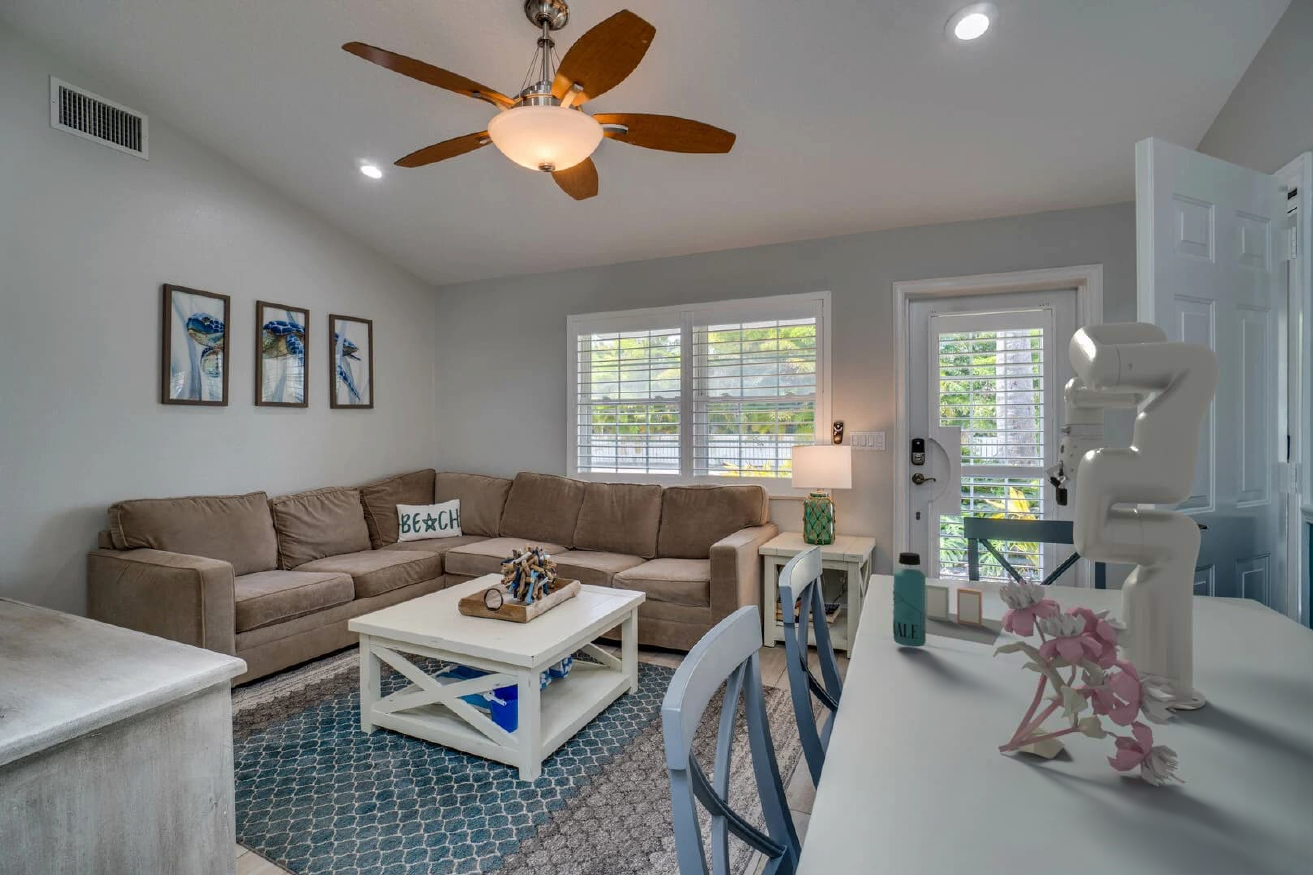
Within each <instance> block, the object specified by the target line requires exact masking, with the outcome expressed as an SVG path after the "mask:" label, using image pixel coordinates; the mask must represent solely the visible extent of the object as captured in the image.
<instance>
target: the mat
mask: <svg viewBox="0 0 1313 875" xmlns="http://www.w3.org/2000/svg"><path fill="white" fill-rule="evenodd" d="M1003 629H1004V628H1003V623H1002V620H997V619H990V618H985V617H982V626H981V627H979V626H972V625H966V624H960V623H957V613H952V612H949V621H941V620H935V619H929V618H925V631H926V635H927V634H928V635H931V636H932V635H933V636H937V637H944V638H950V639H955V640H961V641H968V642H974V643H978V644H984V645H990V646H994V644H995V643H996V640H997V639H998V637H999V635H1000V633H1001V632H1002V630H1003Z"/></svg>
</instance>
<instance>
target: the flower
mask: <svg viewBox="0 0 1313 875" xmlns="http://www.w3.org/2000/svg"><path fill="white" fill-rule="evenodd" d="M1011 575H1012V574H1011V573H1009V572H1007V577H1008V579H1009V582H1008V584H1007V585H1006V584H1004V585H1003V586H1001V585H1000V588H999V593H998V594H999V596H1000V599H1001V600H1002V602H1004V603H1006V605H1007V606H1008V608H1009V610H1007V612H1006V613H1005V614H1004V615H1003V616H1002V618H1001V621H1002V623H1003V628H1002V629H1004V631H1005V632H1006V633H1010V634H1013V632H1014V633H1015V635H1018V636H1021V637H1024V638H1027V637H1028V638H1029V637H1034V624H1035V627H1036V629H1037V631H1038V634H1039V636H1040V639H1041V641H1042V644H1041V645H1040V647H1039V649H1038V648H1036V647H1034V646H1032V645H1030V644H1028V643H1026V642H1025V641H1023V640H1022V641H1020V640H1016V641H1014V642H1011V643H1008V644H1005V645H1002V646H999V647H996V649H995V651H994V653H993V656H992V657H993V658H995V657H996V656H998V654H999V653H1001V654H1012V653H1013V654H1014V653H1017V652H1020V651H1022V652H1024V654H1026V655H1027V656H1028V657H1029V658H1030V659H1031V660H1032V661H1026V662H1025V663H1024V665H1023V666H1022V667H1021V669H1022V670H1024V669H1026V668H1027V669H1029V670H1031V671H1032V672H1036V673H1041V675H1040V678H1039V682H1038V684H1037V689H1036V692H1035V695H1034V698H1033V700H1032V702H1031V705H1030V707H1029V708H1028V710H1027V711H1026V714H1024V717H1023V718H1022V720H1021V722H1020V723H1019V725H1018V726H1017V727H1016V729H1015V730H1014V731H1013V732H1012V733H1011V734H1010V736H1009V743H1007V744H1004V745H1000V746H997V748H998V751H999V752H1000V753H1004V752H1007V753H1009V752H1013V751H1021V752H1026V753H1032V754H1035V755H1038V756H1039V757H1043V758H1045V759H1049V760H1051V759H1052V758H1055V757H1056V756H1057V755H1058V754H1059V753H1060V752H1061V750H1063V748H1064V747H1065V745H1066V744H1065V743H1064V742H1063V740H1062V739H1061V738H1060V737H1061V736H1064V735H1069V734H1072V733H1081V734H1083V735H1084V736H1086V737H1088V738H1092V739H1093V738H1094V739H1098V740H1103V739H1105V738H1106V737H1108V736H1111V737H1114V738H1115V742H1114V745H1115V747H1116V748H1117V750H1116V752H1115V758H1113V757H1110V756H1108V755H1106V758H1107V761H1108V764H1109V766H1110V767H1112V768H1113V769H1115V770H1116V771H1118V772H1127V771H1128V772H1129V771H1132V770H1133V769H1135V768H1136V767H1137V766H1138V765H1140V775H1141V776H1140V777H1141V778H1142V779H1143V780H1144V781H1146V783H1148V784H1151V785H1153V786H1156V787H1160V785H1159V783H1158V780H1160V781H1161V782H1162V783H1163V784H1164V785H1165V786H1167V784H1166V782H1165V781H1164V780H1167V779H1168V780H1169V781H1170V782H1172V783H1173V780H1172V779H1171V778H1170V777H1172V778H1173V779H1175V780H1176V781H1178V782H1179V783H1182V784H1185V783H1186V781H1185V780H1182V779H1181V778H1180V777H1178V776H1175V774H1174V773H1172V772H1174V771H1175V770H1178V769H1179V768H1177V767H1176V766H1179V765H1178V764H1179V763H1180V762H1179V761H1177V760H1175V759H1174V758H1178V754H1177V752H1176V751H1175V750H1173V749H1172V748H1170V747H1168V746H1167V745H1165V744H1163V745H1155V746H1153V745H1154V742H1155V741H1154V738H1153V730H1152V729H1151V727H1150V726H1148V725H1147V724H1144V723H1142V722H1141V721H1139V720H1136V719H1137V718H1138V715H1139V711H1141V712H1142V714H1143V716H1144V718H1145V719H1146V720H1148V721H1150V722H1151V723H1153V724H1155V725H1163V726H1171V724H1170V723H1169V722H1167V721H1166V720H1167V719H1169V718H1170V717H1174V718H1175V719H1176V720H1180V718H1179V717H1180V716H1179V715H1178V714H1176V713H1177V711H1176V710H1177V709H1175V708H1168V707H1170V706H1174V707H1179V708H1184V709H1183V710H1196V709H1197V708H1193V707H1191V706H1186V705H1180V704H1173V703H1171V702H1169V701H1168V700H1170V701H1177V700H1175V699H1171V698H1172V697H1174V696H1172V695H1171V694H1173V695H1176V692H1177V691H1174V692H1173V691H1171V688H1170V687H1168V686H1167V685H1166V684H1167V683H1169V682H1172V680H1169V679H1166V678H1163V677H1160V676H1149V677H1147V678H1146V679H1145V680H1144V681H1143V682H1141V683H1140V680H1139V676H1138V673H1137V670H1136V669H1135V667H1134V666H1133V664H1132V663H1131V662H1130V661H1128V660H1124V659H1121V658H1118V659H1117V656H1118V654H1117V653H1118V652H1121V650H1120V649H1118V648H1117V646H1119V647H1120V648H1121V647H1122V648H1124V649H1125V648H1130V645H1131V643H1132V641H1133V640H1132V639H1130V638H1125V636H1127V637H1129V636H1130V635H1127V634H1128V633H1127V631H1128V628H1129V623H1127V622H1123V623H1121V622H1117V618H1116V617H1113V618H1112V619H1110V618H1108V620H1106V617H1107V616H1108V615H1109V613H1110V612H1111V610H1110V609H1108V608H1105V609H1103V610H1101V611H1099V612H1097V613H1094V612H1093V610H1092V609H1090V608H1088V607H1085V606H1082V605H1079V606H1073V607H1072V606H1071V607H1067V609H1066V611H1065V613H1064V614H1063V613H1061V606H1060V604H1058V603H1057V602H1056V601H1055V600H1054V599H1051V598H1046V597H1045V595H1046V593H1045V588H1044V587H1043V586H1042V585H1041V584H1034V582H1033V581H1032V579H1031V577H1029V578H1028V580H1027V581H1026V579H1023V578H1020V580H1019V581H1018V583H1019V586H1018V585H1016V583H1015V582H1014V581H1013V580H1012V578H1011ZM1037 617H1038V618H1039V621H1037ZM1045 635H1048V636H1052V637H1054V638H1053V639H1048V640H1047V641H1046V638H1045ZM1070 666H1071V675H1070V677H1069V678H1068V681H1067V683H1066V682H1065V680H1064V678H1062V676H1061V675H1060V673H1059V671H1058V668H1066V667H1070ZM1113 666H1115V667H1117V668H1119V669H1120V671H1119V672H1116V673H1114V671H1111V672H1110V673H1107V670H1110V669H1111V668H1112V667H1113ZM1077 667H1078V668H1081V669H1082V668H1083V669H1082V674H1081V679H1080V680H1081V681H1082V682H1083V683H1084V684H1082V685H1077V686H1074V687H1072V685H1073V683H1074V681H1075V679H1076V675H1077V674H1076V673H1077ZM1121 669H1122V670H1123V671H1121ZM1088 674H1089V675H1088ZM1048 680H1049V681H1050V684H1051V685H1052V687H1053V689H1054V691H1055V694H1049V695H1048V696H1046V697H1044V698H1043V695H1044V692H1045V689H1046V684H1047V681H1048ZM1114 694H1115V695H1116V696H1117V697H1116V696H1115V695H1114ZM1090 697H1091V698H1090ZM1089 698H1090V699H1091V700H1090V701H1091V708H1092V709H1093V712H1092V714H1089V715H1086V716H1083V717H1080V720H1079V718H1078V716H1079V713H1081V712H1084V711H1085V710H1087V709H1088V708H1089V703H1088V701H1087V700H1088V699H1089ZM1042 700H1050V701H1051V704H1049V705H1048V706H1047V707H1046V708H1045V709H1044V710H1042V712H1040V713H1039V714H1038V716H1036V717H1035V718H1034V719H1033V720H1032V718H1033V716H1034V714H1035V712H1036V711H1037V710H1038V707H1039V706H1040V704H1041V702H1042ZM1121 700H1122V701H1121ZM1123 701H1125V702H1128V704H1126V703H1124V702H1123ZM1059 707H1062V708H1064V711H1063V713H1062V715H1061V717H1060V719H1063V718H1065V717H1068V718H1067V719H1068V722H1069V726H1070V727H1068V728H1064V729H1061V730H1058V731H1054V732H1053V731H1051V730H1049V729H1046V728H1044V727H1042V726H1040V725H1041V724H1042V723H1043V722H1045V720H1046V719H1048V717H1049V716H1050V715H1051V714H1052V713H1054V712H1055V710H1056V709H1058V708H1059ZM1167 709H1169V710H1171V711H1173V712H1175V713H1172V712H1170V711H1169V710H1167ZM1098 715H1100V716H1103V717H1104V716H1108V717H1109V719H1110V720H1111V721H1112V722H1113V723H1114V724H1116V725H1117V726H1119V727H1121V728H1124V727H1127V726H1130V725H1131V727H1132V730H1131V731H1130V732H1131V733H1132V735H1133V737H1134V738H1135V739H1134V738H1133V737H1131V736H1121V735H1120V736H1119V735H1118V734H1117V735H1116V733H1114V732H1112V731H1107V730H1104V729H1103V728H1102V723H1103V722H1102V721H1101V720H1100V718H1099V717H1098ZM1031 720H1032V721H1031ZM1030 721H1031V722H1030ZM1157 779H1158V780H1157Z"/></svg>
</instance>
